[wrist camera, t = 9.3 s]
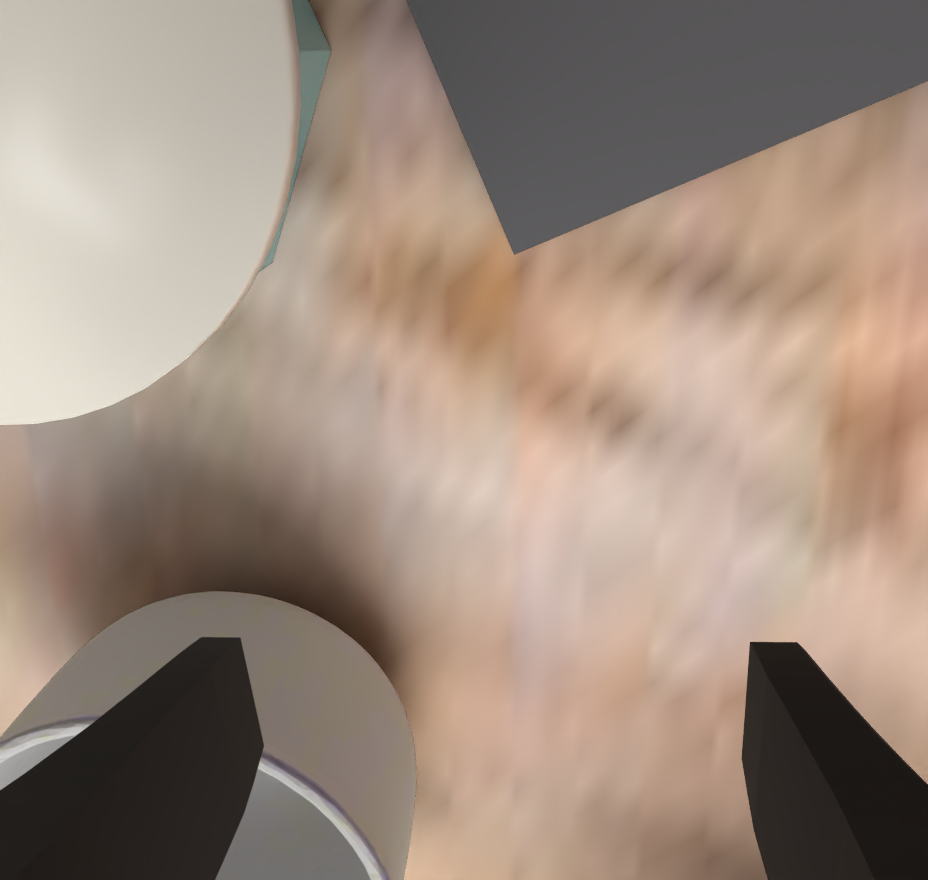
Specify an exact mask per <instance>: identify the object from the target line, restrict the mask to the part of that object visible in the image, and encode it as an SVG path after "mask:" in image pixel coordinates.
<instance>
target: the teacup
mask: <svg viewBox="0 0 928 880" xmlns="http://www.w3.org/2000/svg"><path fill="white" fill-rule="evenodd" d="M201 637H240V638H241V642H242V647H243V651H244V656H245V660H246V665H247V669H248V674H249V679H250V683H251V688H252V692H253V697H254V701H255V706H256V711H257V715H258V720H259V724H260V729H261V733H262V738H263V742H264V748H263V752H262V755H261V759H260V762H259V766H258V769H257V773H256V777H255V780H254V784H253V787H252V790H251V793H250V796H249V800H248V803H247V806H246V809H245V812H244V815H243V817H242V819H241V822H240V824H239V827H238V829H237V831H236V833H235V836H234V838H233V840H232V843H231V845H230V847H229V850H228V852H227V854H226V856H225V859H224V861H223V863H222V866H221V868H220V870H219V872H218V875H217V877H216V879H215V880H404V874H405V869H406V863H407V858H408V852H409V845H410V838H411V831H412V824H413V815H414V805H415V796H416V757H415V747H414V741H413V736H412V731H411V728H410V725H409V722H408V719H407V715H406V712H405V709H404V707H403V705H402V702H401V700H400V698H399V696H398V694H397V692H396V690H395V689H394V687H393V685H392V683H391V682H390V680H389V679H388V678H387V676H386V675H385V673H384V672H383V671H382V669H381V668H380V666H379V665H378V664H377V663H376V662H375V660H374V659H373V658H372V657H371V656H370V655H369V654H368V652H367V651H366V650H364V649H363V648H362V647H361V646H360V645H359V644H358V643H357V642H356V641H355V640H354V639H352V638H351V637H350V636H348V635H347V634H346V633H344V632H343V631H342V630H340V629H339V628H338V627H336V626H335V625H333V624H331V623H329V622H328V621H326V620H324V619H323V618H321V617H319V616H317V615H316V614H314V613H311V612H309V611H307V610H305V609H302V608H300V607H298V606H295V605H292V604H290V603H287V602H284V601H281V600H278V599H274V598H270V597H266V596H262V595H256V594H248V593H240V592H223V591H210V592H199V593H189V594H184V595H179V596H175V597H171V598H167V599H164V600H161V601H157V602H154V603H151V604H148V605H146V606H144V607H142V608H140V609H137V610H135V611H133V612H131V613H129V614H127V615H125V616H124V617H122V618H120V619H119V620H117V621H116V622H114V623H113V624H111V625H110V626H108V627H107V628H105V629H104V630H102V631H101V632H100V633H99V634H97V635H96V636H95V637H94V638H93V639H91V640H90V641H89V642H88V643H87V644H86V645H84V646H83V647H82V648H81V649H80V650H79V651H78V652H77V653H76V654H75V655H74V656H73V657H72V658H71V659H70V660H69V661H68V662H67V663H66V664H65V665H64V666H63V667H62V668H61V669H60V670H59V671H58V672H57V673H56V674H55V676H54V677H53V678H52V679H51V680H50V681H49V682H48V683H47V684H46V686H45V687H44V688H43V689H42V690H41V691H40V692H39V693H38V694H37V696H36V697H35V698H34V699H33V700H32V701H31V702H30V703H29V704H28V706H27V707H26V708H25V709H24V710H23V711H22V712H21V713H20V715H19V716H18V717H17V718H16V719H15V720H14V722H13V723H12V724H11V725H10V726H9V728H8V729H7V730H6V731H5V732H4V734H3V735H2V736H1V737H0V790H1V789H3V788H4V787H6V786H7V785H9V784H10V783H11V782H13V781H14V780H16V779H17V778H19V777H20V776H22V775H23V774H24V773H26V772H27V771H29V770H30V769H31V768H33V767H34V766H35V765H37V764H38V763H39V762H41V761H42V760H43V759H45V758H46V757H48V756H49V755H50V754H52V753H53V752H54V751H56V750H57V749H58V748H60V747H61V746H63V745H64V744H65V743H67V742H68V741H69V740H71V739H72V738H73V737H75V736H76V735H77V734H79V733H80V732H82V731H83V730H84V729H86V728H87V727H88V726H89V725H91V724H92V723H93V722H95V721H96V720H97V719H98V718H100V717H101V716H102V715H103V714H105V713H106V712H107V711H108V710H110V709H111V708H112V707H113V706H115V705H116V704H117V703H118V702H120V701H121V700H122V699H123V698H125V697H126V696H127V695H128V694H130V693H131V692H132V691H133V690H135V689H136V688H137V687H138V686H140V685H141V684H142V683H143V682H145V681H146V680H147V679H148V678H149V677H151V676H152V675H153V674H154V673H156V672H157V671H158V670H159V669H161V668H162V667H163V666H164V665H165V664H167V663H168V662H169V661H170V660H172V659H173V658H174V657H175V656H177V655H178V654H179V653H180V652H182V651H183V650H184V649H186V648H187V647H188V646H190V645H191V644H192V643H194V642H195V641H196V640H198V639H199V638H201Z"/></svg>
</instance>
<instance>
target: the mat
mask: <svg viewBox="0 0 928 880" xmlns="http://www.w3.org/2000/svg"><path fill="white" fill-rule="evenodd" d="M407 3H408V5H409V8H410V10H411V12H412V15H413V17H414V19H415V22H416V24H417V26H418V29H419V31H420V33H421V36H422V38H423V41H424V43H425V45H426V48H427V50H428V52H429V55H430V57H431V59H432V62H433V64H434V67H435V69H436V71H437V74H438V76H439V78H440V81H441V83H442V85H443V88H444V90H445V93H446V95H447V97H448V100H449V102H450V104H451V107H452V109H453V111H454V114H455V116H456V119H457V121H458V123H459V126H460V128H461V130H462V133H463V135H464V137H465V140H466V142H467V145H468V147H469V149H470V152H471V154H472V156H473V159H474V161H475V163H476V166H477V168H478V170H479V173H480V175H481V178H482V180H483V182H484V185H485V187H486V189H487V192H488V194H489V196H490V199H491V201H492V204H493V206H494V208H495V211H496V213H497V215H498V218H499V220H500V222H501V225H502V227H503V230H504V232H505V234H506V237H507V239H508V241H509V244H510V246H511V248H512V251H513V253H514V255H515V254H517V253H519V252H522V251H524V250H526V249H529V248H531V247H534V246H536V245H538V244H541V243H543V242H546V241H548V240H550V239H553V238H555V237H557V236H560V235H562V234H565V233H567V232H569V231H572V230H574V229H576V228H579V227H581V226H584V225H586V224H588V223H591V222H593V221H596V220H598V219H600V218H603V217H605V216H607V215H610V214H612V213H615V212H617V211H619V210H622V209H624V208H626V207H629V206H631V205H634V204H636V203H638V202H641V201H643V200H646V199H648V198H650V197H653V196H655V195H657V194H660V193H662V192H665V191H667V190H669V189H672V188H674V187H676V186H679V185H681V184H684V183H686V182H688V181H691V180H693V179H696V178H698V177H700V176H703V175H705V174H707V173H710V172H712V171H715V170H717V169H719V168H722V167H724V166H726V165H729V164H731V163H734V162H736V161H738V160H741V159H743V158H746V157H748V156H750V155H753V154H755V153H757V152H760V151H762V150H765V149H767V148H769V147H772V146H774V145H776V144H779V143H781V142H784V141H786V140H788V139H791V138H793V137H796V136H798V135H800V134H803V133H805V132H807V131H810V130H812V129H815V128H817V127H819V126H822V125H824V124H826V123H829V122H831V121H834V120H836V119H838V118H841V117H843V116H846V115H848V114H850V113H853V112H855V111H857V110H860V109H862V108H865V107H867V106H869V105H872V104H874V103H876V102H879V101H881V100H884V99H886V98H888V97H891V96H893V95H896V94H898V93H900V92H903V91H905V90H907V89H910V88H912V87H915V86H917V85H919V84H922V83H924V82H926V81H928V0H407Z"/></svg>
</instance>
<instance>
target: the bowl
mask: <svg viewBox="0 0 928 880" xmlns="http://www.w3.org/2000/svg"><path fill="white" fill-rule="evenodd" d="M292 5H293V12H294V19H295V26H296V32H297V39H298V46H299V62H300V95H301V111H300V122H299V133H298V144H297V155H296V162H295V167H294V171H293V176H292V180H291V185H290V189H289V194H288V198H287V203H286V208H285V210H284V213H283V216H282V219H281V221H280V224H279V227H278V229H277V232H276V235H275V238H274V240H273V243H272V246H271V249H270V251H269V253H268V255H267V257H266V259H265V261H264V263H263V264H262V266H261V268H260V270H259V272H260V271H261V270H263V269H264V268H265V267H267V266H268V265H270V264H271V263H272V262H273V258H274V255H275V251H276V247H277V244H278V240H279V237H280V233H281V229H282V226H283V222H284V219H285V215H286V211H287V208H288V204H289V200H290V197H291V193H292V190H293V186H294V182H295V179H296V175H297V172H298V168H299V164H300V161H301V157H302V154H303V150H304V146H305V143H306V139H307V136H308V132H309V128H310V125H311V121H312V118H313V114H314V110H315V107H316V103H317V100H318V96H319V92H320V89H321V85H322V82H323V78H324V74H325V71H326V67H327V63H328V60H329V56H330V53H331V49H330V47H329V45H328V42H327V40H326V38H325V36H324V34H323V31H322V29H321V27H320V25H319V23H318V21H317V18H316V16H315V14H314V12H313V10H312V8H311V5H310V3H309V1H308V0H292Z"/></svg>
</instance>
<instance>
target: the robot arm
mask: <svg viewBox="0 0 928 880" xmlns="http://www.w3.org/2000/svg"><path fill="white" fill-rule="evenodd" d="M263 748H264V742H263V738H262V733H261V729H260V724H259V720H258V715H257V711H256V706H255V701H254V697H253V692H252V688H251V683H250V679H249V674H248V669H247V665H246V660H245V656H244V651H243V647H242V642H241V638H240V637H201V638H199V639H198V640H196V641H195V642H194V643H192V644H191V645H190V646H188V647H187V648H186V649H184V650H183V651H182V652H180V653H179V654H178V655H177V656H175V657H174V658H173V659H172V660H170V661H169V662H168V663H167V664H165V665H164V666H163V667H162V668H161V669H159V670H158V671H157V672H156V673H154V674H153V675H152V676H151V677H149V678H148V679H147V680H146V681H145V682H143V683H142V684H141V685H140V686H138V687H137V688H136V689H135V690H133V691H132V692H131V693H130V694H128V695H127V696H126V697H125V698H123V699H122V700H121V701H120V702H118V703H117V704H116V705H115V706H113V707H112V708H111V709H110V710H108V711H107V712H106V713H105V714H103V715H102V716H101V717H100V718H98V719H97V720H96V721H95V722H93V723H92V724H91V725H89V726H88V727H87V728H86V729H84V730H83V731H82V732H80V733H79V734H77V735H76V736H75V737H73V738H72V739H71V740H69V741H68V742H67V743H65V744H64V745H63V746H61V747H60V748H58V749H57V750H56V751H54V752H53V753H52V754H50V755H49V756H48V757H46V758H45V759H43V760H42V761H41V762H39V763H38V764H37V765H35V766H34V767H33V768H31V769H30V770H29V771H27V772H26V773H24V774H23V775H22V776H20V777H19V778H17V779H16V780H14V781H13V782H11V783H10V784H9V785H7V786H6V787H4V788H3V789H1V790H0V880H215V879H216V877H217V875H218V872H219V870H220V868H221V866H222V863H223V861H224V859H225V856H226V854H227V852H228V850H229V847H230V845H231V843H232V840H233V838H234V836H235V833H236V831H237V829H238V827H239V824H240V822H241V819H242V817H243V815H244V812H245V809H246V806H247V803H248V800H249V796H250V793H251V790H252V787H253V784H254V780H255V777H256V773H257V769H258V766H259V762H260V759H261V755H262V752H263ZM742 762H743V769H744V775H745V781H746V787H747V793H748V799H749V805H750V810H751V816H752V822H753V827H754V832H755V836H756V839H757V843H758V846H759V850H760V853H761V857H762V860H763V864H764V867H765V871H766V874H767V878H768V880H928V784H927V783H926V782H925V781H924V780H923V779H922V778H921V777H920V776H919V775H918V774H917V773H916V772H915V771H914V770H913V769H912V768H911V767H910V766H909V765H908V764H907V763H906V762H905V761H904V760H903V759H902V758H901V757H900V756H899V755H898V754H897V753H896V752H895V751H894V750H893V749H892V748H891V747H890V746H889V745H888V743H887V742H886V741H885V740H884V739H883V738H882V737H881V736H880V735H879V734H878V733H877V732H876V731H875V730H874V729H873V728H872V727H871V726H870V724H869V723H868V722H867V721H866V720H865V719H864V718H863V717H862V716H861V715H860V713H859V712H858V711H857V710H856V709H855V708H854V707H853V706H852V704H851V703H850V702H849V701H848V700H847V699H846V698H845V696H844V695H843V694H842V693H841V692H840V691H839V690H838V688H837V687H836V686H835V685H834V684H833V683H832V681H831V680H830V679H829V678H828V677H827V676H826V674H825V673H824V672H823V671H822V670H821V668H820V667H819V666H818V665H817V664H816V663H815V661H814V660H813V659H812V658H811V657H810V655H809V654H808V653H807V652H806V651H805V650H804V649H803V648H802V647H801V646H800V645H799V644H798V643H797V642H750V651H749V665H748V679H747V693H746V707H745V721H744V735H743V749H742Z"/></svg>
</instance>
